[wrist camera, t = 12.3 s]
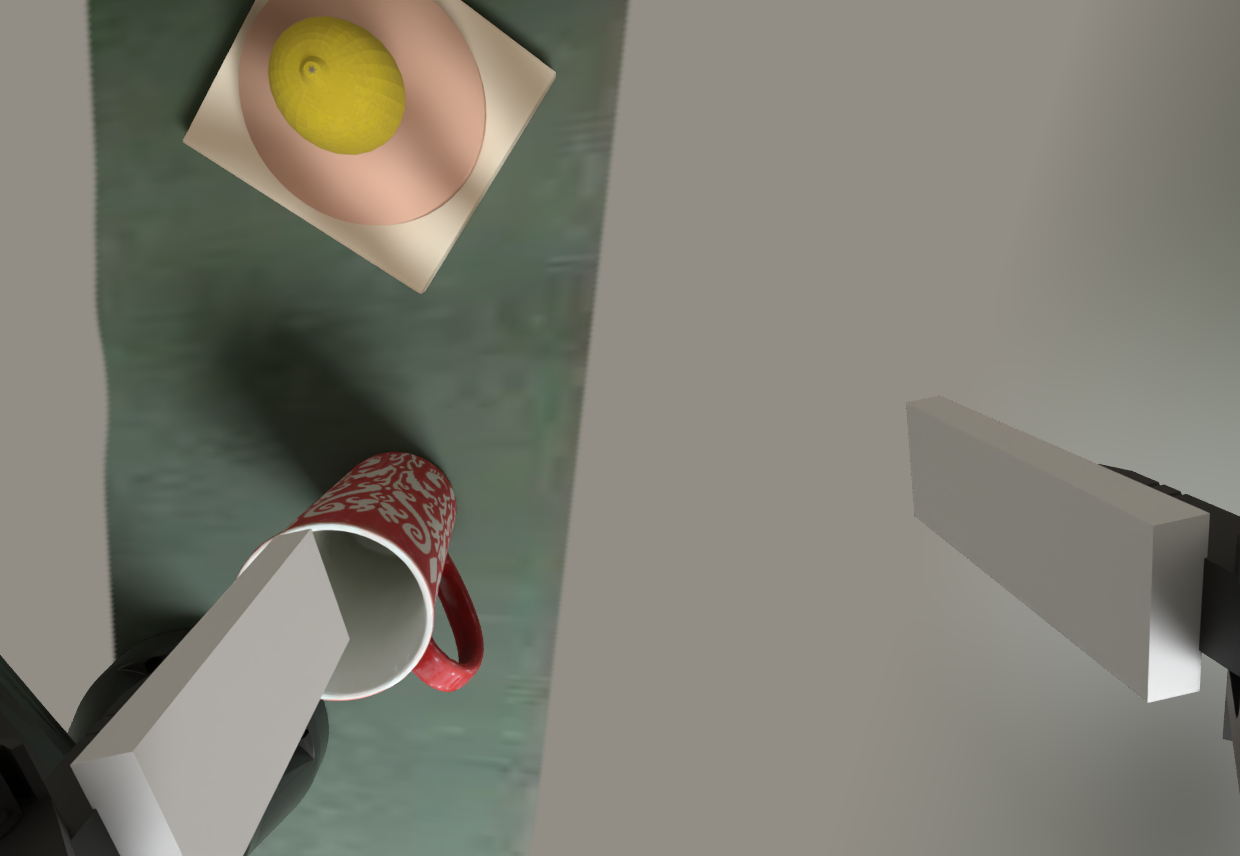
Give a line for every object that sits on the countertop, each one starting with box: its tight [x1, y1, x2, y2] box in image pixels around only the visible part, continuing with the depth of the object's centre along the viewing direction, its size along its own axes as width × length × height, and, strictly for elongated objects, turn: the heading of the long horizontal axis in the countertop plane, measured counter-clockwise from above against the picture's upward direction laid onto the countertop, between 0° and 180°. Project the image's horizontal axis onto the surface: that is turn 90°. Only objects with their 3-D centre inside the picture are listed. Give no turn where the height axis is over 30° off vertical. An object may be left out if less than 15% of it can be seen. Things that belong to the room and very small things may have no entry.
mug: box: [236, 452, 484, 701], centre depth 39 cm, size 13×9×14 cm
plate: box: [183, 0, 556, 294], centre depth 37 cm, size 14×14×3 cm
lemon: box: [268, 16, 405, 155], centre depth 32 cm, size 6×6×8 cm
